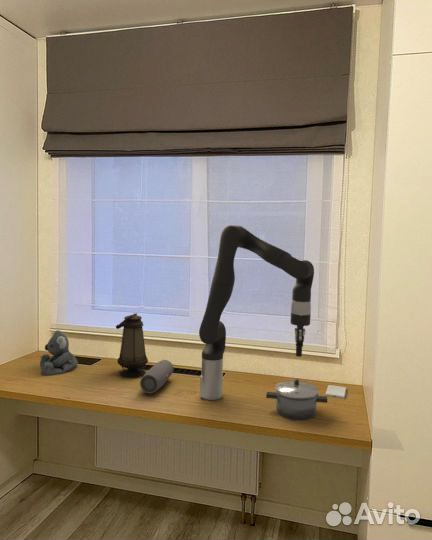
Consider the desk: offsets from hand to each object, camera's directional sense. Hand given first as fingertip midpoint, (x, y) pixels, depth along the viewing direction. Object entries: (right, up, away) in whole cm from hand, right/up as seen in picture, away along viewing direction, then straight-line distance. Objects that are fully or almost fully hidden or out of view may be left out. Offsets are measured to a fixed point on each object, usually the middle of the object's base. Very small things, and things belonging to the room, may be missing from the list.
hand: (298, 356), depth 173 cm
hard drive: (+22, -23, +28) cm, 43 cm away
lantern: (-74, -18, +48) cm, 89 cm away
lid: (0, -16, +6) cm, 17 cm away
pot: (0, -24, +6) cm, 24 cm away
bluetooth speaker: (-59, -20, +30) cm, 69 cm away
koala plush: (-111, -17, +51) cm, 124 cm away
